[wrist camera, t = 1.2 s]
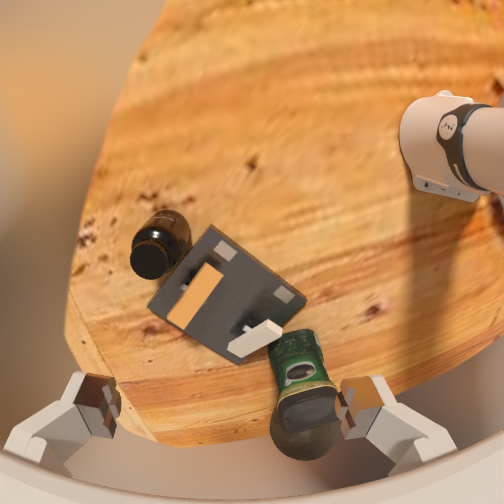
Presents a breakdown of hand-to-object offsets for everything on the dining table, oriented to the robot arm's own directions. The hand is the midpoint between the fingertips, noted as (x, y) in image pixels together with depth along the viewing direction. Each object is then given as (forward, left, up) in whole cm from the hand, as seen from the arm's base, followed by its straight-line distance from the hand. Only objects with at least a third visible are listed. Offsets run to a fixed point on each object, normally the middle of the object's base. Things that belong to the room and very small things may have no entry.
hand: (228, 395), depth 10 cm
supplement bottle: (+8, +9, -38) cm, 39 cm away
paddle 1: (+2, +16, -33) cm, 36 cm away
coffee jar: (-18, +25, -38) cm, 48 cm away
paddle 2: (-9, +21, -33) cm, 40 cm away
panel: (-4, +18, -37) cm, 42 cm away
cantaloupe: (-26, +40, -38) cm, 61 cm away
